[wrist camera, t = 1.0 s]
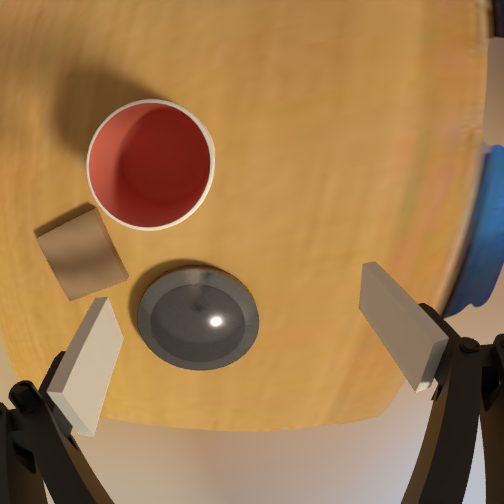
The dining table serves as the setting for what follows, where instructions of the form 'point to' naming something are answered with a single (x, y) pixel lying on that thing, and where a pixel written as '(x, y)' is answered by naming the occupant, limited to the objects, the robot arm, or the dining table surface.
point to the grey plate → (198, 317)
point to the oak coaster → (83, 255)
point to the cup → (150, 164)
